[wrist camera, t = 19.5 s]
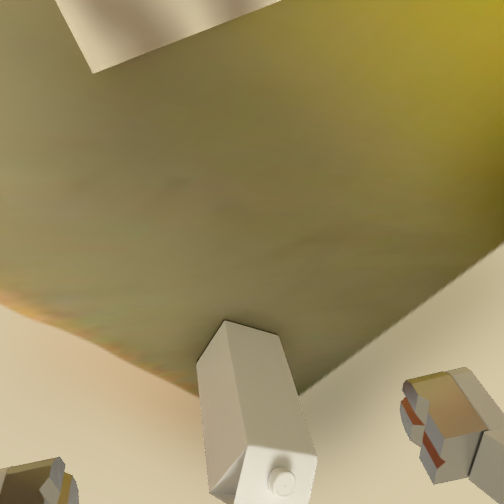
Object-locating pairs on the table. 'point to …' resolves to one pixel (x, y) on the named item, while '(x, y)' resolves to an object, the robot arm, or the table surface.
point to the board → (143, 24)
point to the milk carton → (253, 420)
